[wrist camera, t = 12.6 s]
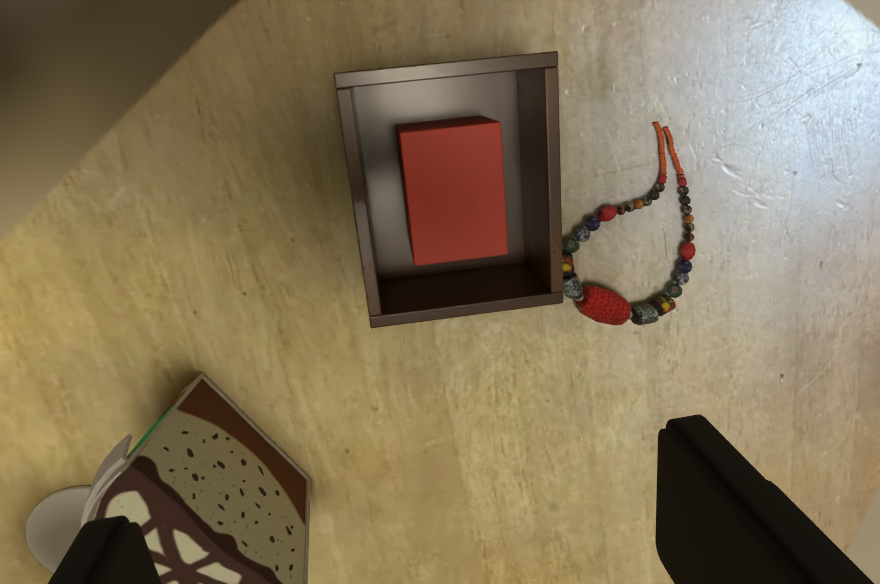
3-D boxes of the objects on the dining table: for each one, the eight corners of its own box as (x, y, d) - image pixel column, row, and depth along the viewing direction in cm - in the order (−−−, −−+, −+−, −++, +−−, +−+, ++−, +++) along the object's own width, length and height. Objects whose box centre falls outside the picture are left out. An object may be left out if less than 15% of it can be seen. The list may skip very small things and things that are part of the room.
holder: (339, 73, 29) (333, 73, 24) (524, 54, 30) (558, 50, 25) (370, 288, 33) (370, 328, 28) (533, 267, 34) (563, 303, 28)
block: (394, 124, 30) (399, 132, 25) (482, 114, 30) (501, 121, 26) (408, 240, 32) (414, 266, 28) (490, 231, 32) (508, 254, 28)
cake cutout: (99, 414, 34) (-3, 545, 24) (182, 353, 33) (110, 463, 24) (250, 545, 38) (211, 699, 29) (326, 492, 37) (312, 633, 28)
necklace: (530, 294, 34) (542, 304, 32) (614, 105, 32) (632, 104, 30) (647, 337, 36) (664, 349, 34) (733, 162, 34) (757, 164, 32)
